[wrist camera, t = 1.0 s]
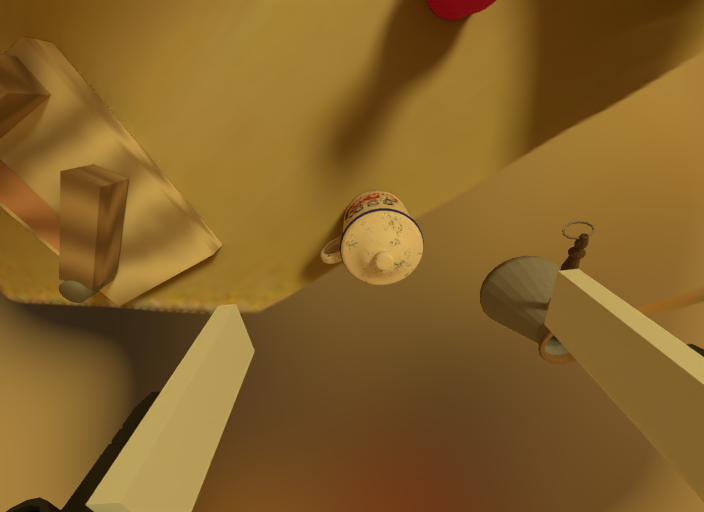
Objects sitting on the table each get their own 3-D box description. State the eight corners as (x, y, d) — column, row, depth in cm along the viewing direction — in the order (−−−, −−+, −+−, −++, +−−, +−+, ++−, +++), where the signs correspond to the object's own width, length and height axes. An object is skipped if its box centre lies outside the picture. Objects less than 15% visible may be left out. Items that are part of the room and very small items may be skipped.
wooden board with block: (-47, 134, 32) (-141, 140, 26) (53, 43, 28) (-30, 24, 22) (132, 294, 43) (96, 325, 37) (222, 244, 39) (198, 269, 33)
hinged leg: (93, 164, 31) (56, 171, 27) (128, 178, 32) (97, 188, 28) (86, 277, 38) (55, 296, 34) (115, 286, 38) (88, 306, 34)
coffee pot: (551, 299, 44) (639, 381, 31) (478, 319, 46) (531, 404, 32) (546, 169, 35) (668, 206, 21) (454, 200, 36) (514, 253, 23)
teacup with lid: (398, 177, 35) (418, 205, 25) (416, 239, 39) (440, 285, 29) (311, 209, 37) (296, 248, 26) (337, 265, 41) (332, 317, 30)
